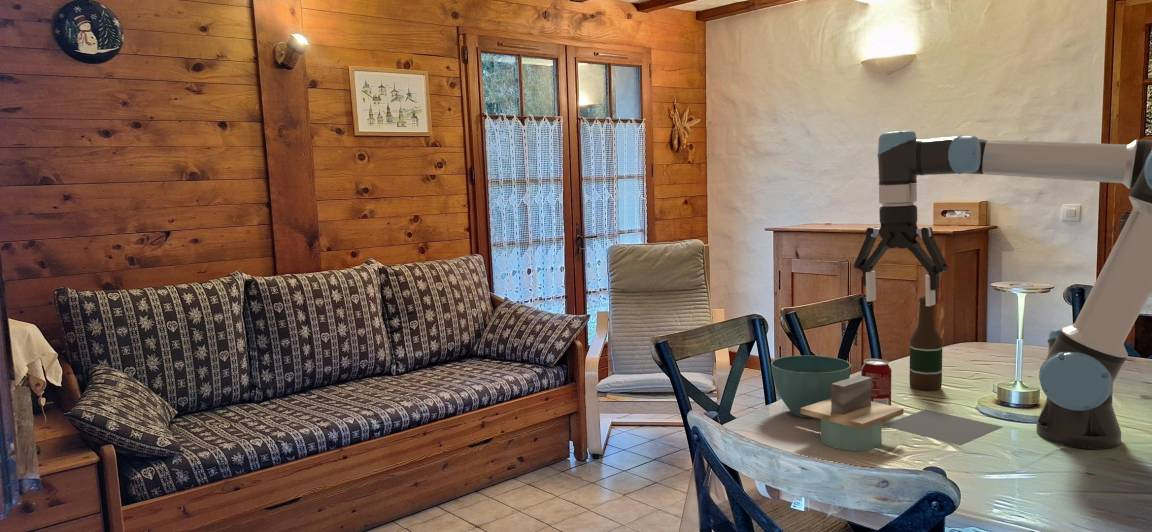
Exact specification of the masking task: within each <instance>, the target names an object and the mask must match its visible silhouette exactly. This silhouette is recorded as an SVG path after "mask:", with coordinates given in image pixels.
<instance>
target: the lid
mask: <svg viewBox="0 0 1152 532" xmlns="http://www.w3.org/2000/svg"><path fill="white" fill-rule="evenodd" d="M904 410H905V409H904V408H902V407H899V406H893V405H891V406H890V405H885V404H881V403H877V402H872V401H871V378H870V377H865V376H861V374H860V375H856V376H853V377H850V378H849V379H846V380H842V381H839V382H836V383H833V384H831V398H830V399H827V400H824V401H821V402H818V403H815V404H812V405H808V406H805V407H802V408H800V414H804V415H808V416H812V417H815V418H814V419H816V418H817V419H820V420H821V419H823V420H827V421H831V422H835V423H839V424H843V425H847V426H850V427H854V428H858V429H862V430H863V429H865V428H868V427H871V426H873V425H876V424H879V423H881V422H882V423H884V422H886V421H888V420H892V419H894V418H897V417H899V416H902V415H904V412H905V411H904Z"/></svg>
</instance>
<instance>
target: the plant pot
mask: <svg viewBox="0 0 1152 532" xmlns="http://www.w3.org/2000/svg"><path fill="white" fill-rule="evenodd" d="M770 366H771V374H772V379H773V383H774V385H775V389H776V391H777V392H778V395H779V397H780V399H781V400H782V401H783V403H784V404H785V406H786V407H787V408H788V410H789V411H790V413H792V414H793V415H794V416H796V417H799V418H803V419H816V418H815V417H812V416H808V415H804V414H800V408H802V407H805V406H808V405H812V404H815V403H818V402H821V401H824V400H827V399H830V398H831V384H833V383H836V382H839V381H842V380H846V379H849V378H851V370H852V364H851V363H850V362H849V361H847V360H844V359H841V358H838V357H831V356H823V355H809V354H808V355H807V354H806V355H790V356H783V357H782V356H781V357H779V358H775V359H774V360H772V361H771V362H770Z"/></svg>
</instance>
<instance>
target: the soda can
mask: <svg viewBox="0 0 1152 532" xmlns="http://www.w3.org/2000/svg"><path fill="white" fill-rule="evenodd" d="M860 376H865V377H870V378H871V401H872V402H877V403H881V404H885V405H890V406H892V368H891V367H890V365H889V361H888V360H885V359H881V358H868V359H864V360H863V364H862V366H861V368H860Z"/></svg>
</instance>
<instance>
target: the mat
mask: <svg viewBox="0 0 1152 532" xmlns="http://www.w3.org/2000/svg"><path fill="white" fill-rule="evenodd" d="M882 427H885V428H890V429H895V430H897V431H902V432H906V433H910V434H913V435H917V436H918V435H919V436H921V437H926V438H929V439H934V440H938V441H941V442H945V443H949V444H954V445H956V446H963V445H964V444H967V443H969V442H972V441H975V440H976V439H978V438H981V437H983V436H985V435H987V434H990V433H992V432H995V431H997V430H998V429H999V430H1000V429H1001V428H1003V426H1002V425H997V424H994V423H993V424H992V423H988V422H984V421H979V420H975V419H970V418H966V417H961V416H957V415H952V414H948V413H944V412H939V411H934V410H931V409H922V410H920V411H916V412H915V413H912V414H909V415H907V416H904V417H901V418H898V419H896V420H893V421H890V422H888V423H885V424H882Z"/></svg>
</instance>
